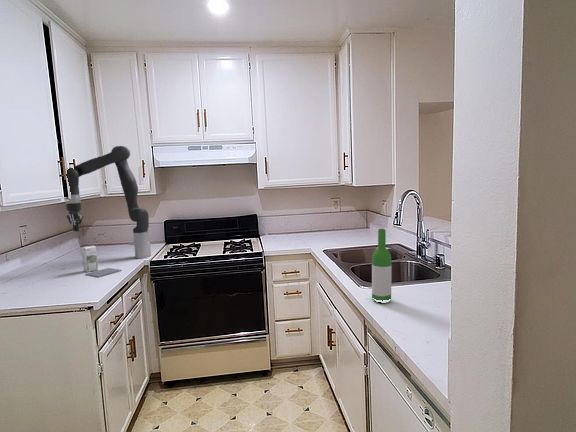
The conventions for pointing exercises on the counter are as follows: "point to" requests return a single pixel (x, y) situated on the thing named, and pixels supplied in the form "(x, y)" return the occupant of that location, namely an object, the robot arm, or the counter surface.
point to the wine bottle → (381, 269)
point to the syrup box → (89, 258)
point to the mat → (103, 272)
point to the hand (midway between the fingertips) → (76, 231)
